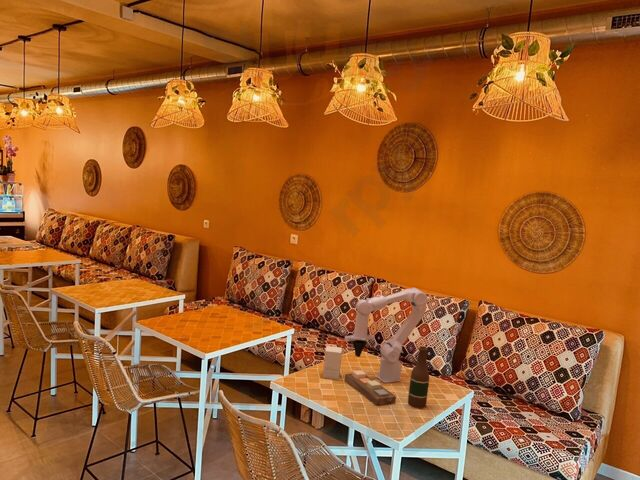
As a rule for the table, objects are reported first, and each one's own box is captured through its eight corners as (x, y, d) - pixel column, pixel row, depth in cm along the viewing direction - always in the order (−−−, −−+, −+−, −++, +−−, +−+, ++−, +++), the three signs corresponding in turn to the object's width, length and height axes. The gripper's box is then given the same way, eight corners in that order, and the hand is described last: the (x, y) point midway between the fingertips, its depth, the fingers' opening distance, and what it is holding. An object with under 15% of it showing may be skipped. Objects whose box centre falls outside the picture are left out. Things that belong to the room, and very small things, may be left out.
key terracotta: (366, 383, 211) (367, 378, 211) (372, 387, 207) (373, 381, 207) (358, 384, 209) (358, 378, 209) (363, 388, 205) (364, 382, 205)
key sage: (374, 385, 206) (375, 380, 206) (380, 390, 202) (381, 384, 202) (366, 386, 204) (366, 381, 204) (371, 391, 200) (372, 385, 200)
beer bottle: (422, 410, 192) (429, 352, 190) (404, 404, 196) (410, 347, 194) (428, 404, 199) (436, 347, 196) (411, 398, 203) (417, 343, 200)
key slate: (382, 394, 201) (382, 389, 200) (388, 399, 197) (389, 393, 196) (373, 395, 199) (374, 390, 198) (379, 400, 195) (380, 394, 194)
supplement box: (339, 374, 222) (342, 347, 221) (338, 380, 215) (341, 352, 214) (323, 372, 223) (326, 345, 222) (322, 378, 216) (325, 350, 214)
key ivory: (360, 375, 216) (360, 370, 216) (365, 379, 212) (365, 373, 212) (351, 376, 214) (352, 370, 214) (356, 379, 210) (357, 374, 210)
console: (361, 378, 219) (362, 372, 219) (395, 403, 196) (396, 396, 196) (344, 380, 215) (345, 374, 215) (376, 406, 192) (377, 398, 192)
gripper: (351, 329, 210) (348, 360, 211) (379, 329, 216) (375, 358, 218) (343, 325, 216) (340, 354, 217) (371, 324, 223) (367, 353, 224)
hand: (357, 356), depth 218 cm, fingers closed
